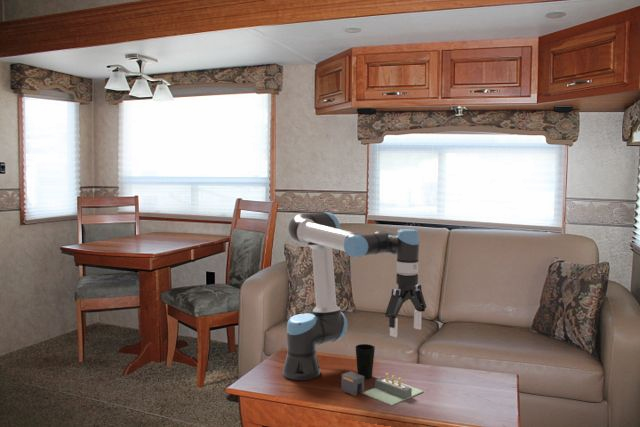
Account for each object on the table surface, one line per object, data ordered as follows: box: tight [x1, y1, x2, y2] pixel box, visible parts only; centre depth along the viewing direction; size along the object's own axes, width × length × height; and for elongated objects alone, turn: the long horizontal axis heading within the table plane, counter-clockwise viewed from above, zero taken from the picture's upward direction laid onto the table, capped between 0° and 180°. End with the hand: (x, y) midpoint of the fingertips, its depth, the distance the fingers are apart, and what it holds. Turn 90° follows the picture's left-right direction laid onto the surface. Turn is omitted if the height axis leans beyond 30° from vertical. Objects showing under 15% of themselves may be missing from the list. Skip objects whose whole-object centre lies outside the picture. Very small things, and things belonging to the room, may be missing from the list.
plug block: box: [340, 370, 365, 397], centre depth 201 cm, size 7×5×6 cm
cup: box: [355, 343, 376, 380], centre depth 216 cm, size 8×8×12 cm
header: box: [361, 372, 424, 406], centre depth 200 cm, size 14×18×6 cm
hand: (405, 332), depth 192 cm, fingers open, 13 cm apart
